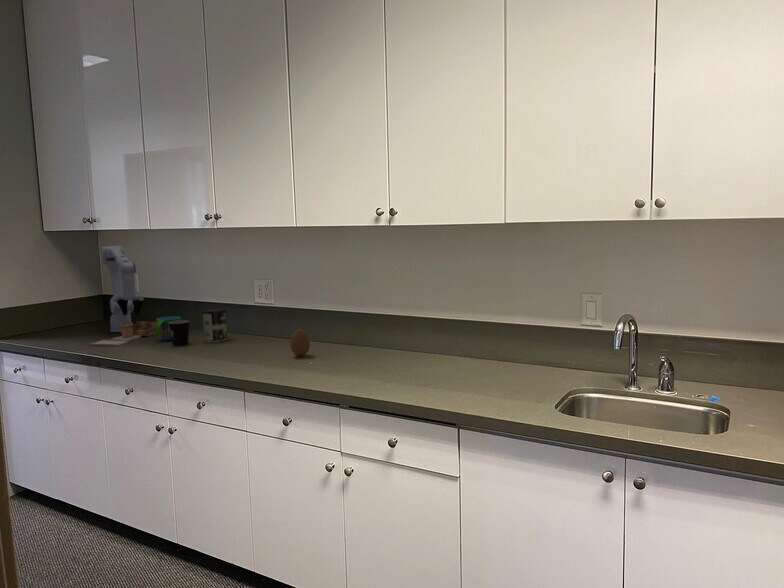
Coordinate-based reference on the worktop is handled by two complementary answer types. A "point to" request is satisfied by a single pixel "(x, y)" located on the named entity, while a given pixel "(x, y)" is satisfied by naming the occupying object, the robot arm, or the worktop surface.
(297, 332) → the egg
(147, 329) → the cold frame
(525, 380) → the worktop surface
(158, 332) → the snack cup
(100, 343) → the frame lid
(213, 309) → the coffee can
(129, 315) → the robot arm
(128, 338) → the stone tile
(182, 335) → the coffee mug
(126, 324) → the clay pot
